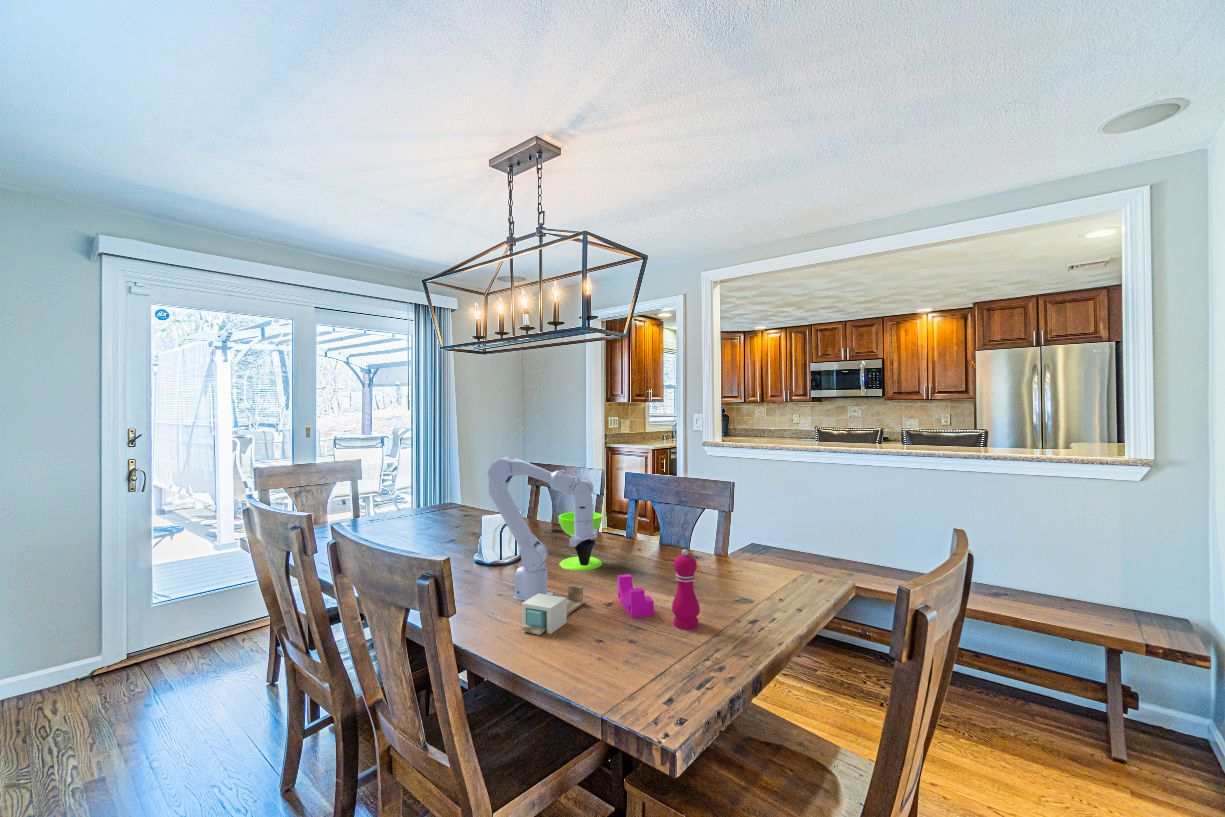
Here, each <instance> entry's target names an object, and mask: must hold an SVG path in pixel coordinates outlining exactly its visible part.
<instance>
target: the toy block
mask: <svg viewBox="0 0 1225 817" xmlns="http://www.w3.org/2000/svg"><path fill="white" fill-rule="evenodd" d="M632 577H633V576H632V575H631V574H630V573H629V574H619V575H618V574H617V600H618V601H619V603H620V604H621V605H622V607H623V608H624V609H625V611H626V612H627V613H628V615H629V616H630V618H632V619H633V618H634V619H635V618H643V617H653V616H654V615H655V612H654V607H655V606H654V605H655V604H654V600H653V599H652V597H650V595H645V594H646V592H645V589H644V588H643V587H635V588H634V585H633V578H632Z"/></svg>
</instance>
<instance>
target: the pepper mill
mask: <svg viewBox="0 0 1225 817" xmlns="http://www.w3.org/2000/svg"><path fill="white" fill-rule="evenodd" d="M697 567H698V564H697V560H696V559H695V557H694V556H692V555H690V554H689V550H688V549H686V548H684V549H682V550H681V555H678V556H677V557H676V558H675V559H674V561H673V568H674V570H675V572H676V573H675V576H676V577H675V580H676V581H677V587H676V588H677V589H676V593H675V595H674V599H673V601H672V604H671V611H672V614H673V615H674V616H675V617H674V618H673V625H674V627H675V628H677V629H680V630H687V631H688V630H694V629H697V628H698V627H699V618H698V616H699V615H700V612H701V609H700V608H701V607H700V603H699V601H698V598H697V595H696V593H695V589H694V581H696V578H695V577H696V573H695V572H696V571H697V569H698V568H697Z"/></svg>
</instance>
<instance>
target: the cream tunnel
mask: <svg viewBox="0 0 1225 817" xmlns="http://www.w3.org/2000/svg"><path fill="white" fill-rule="evenodd" d="M529 609H536V610H542V611H547V630H546V634H549V635H551V634H553V633H555V631H557V630H558V629H560V628H561V627H562V626H564V625H565V624H566V623H568V620H567V618H568V615H567V597H564V596H560V595H559V596H558V595H554V594H553V595H546V594H540V593H538V594H536V595H535V596H533V597H531V598H530V599H528V600H526V601H524V600H523V602H521V629H523V630H524V625H527V610H529Z"/></svg>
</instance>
